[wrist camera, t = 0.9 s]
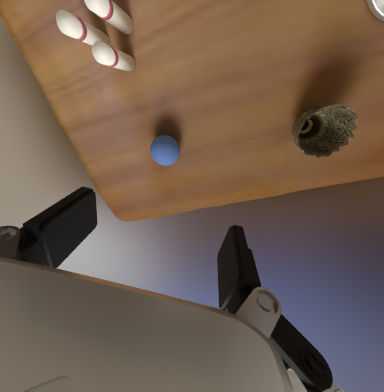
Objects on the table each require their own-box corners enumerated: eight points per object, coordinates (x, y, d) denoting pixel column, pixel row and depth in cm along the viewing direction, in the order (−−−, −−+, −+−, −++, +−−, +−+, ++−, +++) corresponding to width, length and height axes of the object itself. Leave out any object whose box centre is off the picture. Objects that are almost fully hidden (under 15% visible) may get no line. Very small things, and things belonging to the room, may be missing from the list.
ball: (175, 128, 35) (167, 133, 29) (186, 154, 37) (181, 163, 32) (151, 139, 36) (140, 145, 31) (163, 163, 39) (155, 173, 34)
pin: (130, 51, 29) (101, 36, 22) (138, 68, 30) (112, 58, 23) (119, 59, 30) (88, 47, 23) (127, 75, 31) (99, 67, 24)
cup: (274, 139, 33) (289, 150, 26) (295, 98, 29) (318, 97, 22) (310, 150, 33) (334, 163, 26) (336, 109, 29) (371, 112, 22)
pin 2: (127, 10, 27) (93, -24, 19) (136, 29, 28) (106, 4, 20) (115, 19, 27) (78, -10, 20) (124, 38, 28) (91, 17, 21)
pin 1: (104, 28, 28) (64, 4, 21) (113, 46, 29) (78, 28, 22) (93, 37, 29) (51, 16, 22) (102, 54, 30) (65, 39, 23)
